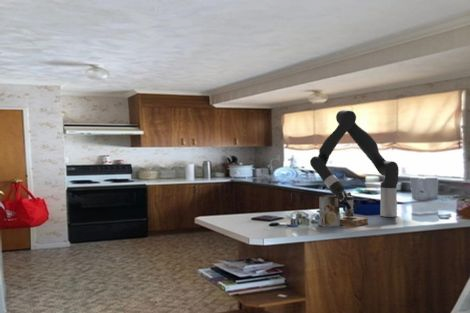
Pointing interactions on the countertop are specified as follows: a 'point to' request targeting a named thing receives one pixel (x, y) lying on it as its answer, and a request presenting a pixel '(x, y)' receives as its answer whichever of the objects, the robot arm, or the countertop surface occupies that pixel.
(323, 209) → the coffee box
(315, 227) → the countertop surface
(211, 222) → the countertop surface
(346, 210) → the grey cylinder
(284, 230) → the countertop surface
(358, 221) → the socket
